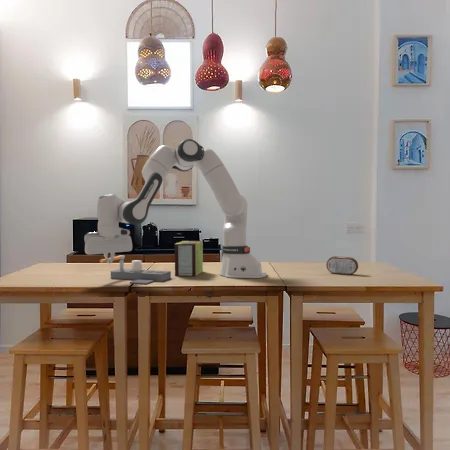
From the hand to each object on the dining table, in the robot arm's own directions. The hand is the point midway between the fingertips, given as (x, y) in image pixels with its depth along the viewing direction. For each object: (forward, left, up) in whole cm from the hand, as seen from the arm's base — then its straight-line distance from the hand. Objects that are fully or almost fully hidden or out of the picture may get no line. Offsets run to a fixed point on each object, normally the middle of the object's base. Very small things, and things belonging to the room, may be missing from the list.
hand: (109, 263), depth 189 cm
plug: (-6, -13, -8) cm, 17 cm away
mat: (-14, -4, -8) cm, 17 cm away
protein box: (-24, -32, -9) cm, 41 cm away
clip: (+2, -6, 0) cm, 6 cm away
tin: (-95, -55, -9) cm, 110 cm away
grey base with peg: (-8, -13, -8) cm, 17 cm away
